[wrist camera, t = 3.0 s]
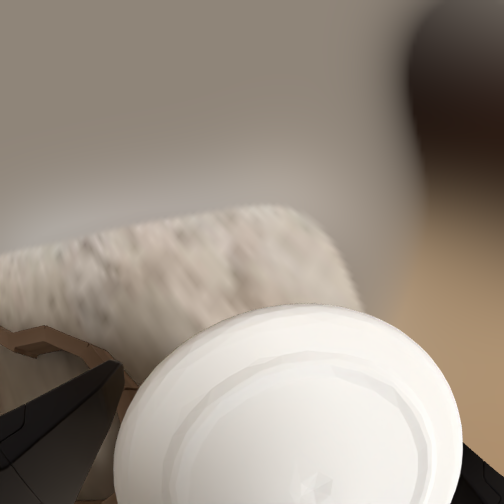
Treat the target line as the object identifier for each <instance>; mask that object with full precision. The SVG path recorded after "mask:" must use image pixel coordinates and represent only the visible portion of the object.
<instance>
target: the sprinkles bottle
mask: <svg viewBox="0 0 504 504" xmlns="http://www.w3.org/2000/svg"><path fill="white" fill-rule="evenodd" d="M462 453H463V444H462V426H461V421H460V416H459V412H458V408H457V405H456V401H455V399H454V396H453V394H452V391H451V389H450V386H449V384H448V382H447V381H446V379H445V377H444V375H443V374H442V372H441V371H440V369H439V368H438V366H437V365H436V364H435V362H434V361H433V360H432V359H431V357H430V356H429V355H428V354H427V353H426V352H425V351H424V350H423V349H422V348H421V347H420V346H419V345H418V344H417V343H416V342H414V341H413V340H412V339H411V338H410V337H408V336H407V335H406V334H404V333H403V332H402V331H400V330H399V329H397V328H395V327H394V326H392V325H390V324H388V323H386V322H384V321H382V320H380V319H378V318H376V317H373V316H371V315H368V314H365V313H362V312H358V311H355V310H351V309H348V308H344V307H341V306H334V305H324V304H315V303H297V304H284V305H277V306H270V307H265V308H260V309H255V310H251V311H248V312H245V313H242V314H239V315H236V316H233V317H231V318H228V319H225V320H223V321H221V322H219V323H217V324H215V325H213V326H211V327H209V328H207V329H205V330H203V331H201V332H199V333H197V334H196V335H194V336H193V337H191V338H190V339H188V340H187V341H185V342H184V343H183V344H181V345H180V346H179V347H178V348H176V349H175V350H174V351H173V352H172V353H171V354H169V355H168V356H167V357H166V358H165V359H164V360H163V361H162V362H161V363H160V364H158V365H157V366H156V367H155V369H154V370H153V371H152V372H151V374H150V375H149V376H148V377H147V379H146V380H145V381H144V382H143V384H142V385H141V386H140V387H139V389H138V391H137V393H136V395H135V396H134V398H133V400H132V402H131V404H130V405H129V407H128V409H127V411H126V414H125V416H124V418H123V421H122V423H121V427H120V430H119V433H118V437H117V440H116V446H115V452H114V467H113V473H114V488H115V493H116V498H117V502H118V504H450V503H451V501H452V498H453V495H454V493H455V490H456V487H457V483H458V480H459V476H460V471H461V465H462Z"/></svg>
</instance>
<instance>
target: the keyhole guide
mask: <svg viewBox="0 0 504 504" xmlns="http://www.w3.org/2000/svg"><path fill="white" fill-rule="evenodd" d="M0 344H1V345H3V346H4V347H6V348H8V349H10V350H11V351H13V352H16V353H19V354H22V355H26V356H29V357H32V358H36V359H37V357H38V355H40V354H45V353H50V352H54V351H59V350H65V351H67V352H70V353H72V354H75V355H77V356H79V357H81V358H82V359H83V360H84V362H85V363H86V364H87V365H88V367H89V368H90V369H92V368H94V367H96V366H98V365H100V364H102V363H104V362H105V361H107V360H110V359H112V360H115V359H114V358H113V357H112V356H111V355H110V354H109V352H107V351H106V350H104V349H101V348H99V347H97V346H94V345H92V344H90V343H87V342H85V341H82V340H80V339H77V338H75V337H72V336H70V335H67V334H65V333H63V332H60V331H58V330H55V329H53V328H51V327H48V326H45V325H43V326H39V327H35V328H31V329H27V330H22V331H18V332H14V333H13V332H11V331H9V330H7V329H5V328H3V327H2V326H0ZM124 377H125V386H124V390H123V392H122V395H121V398H120V401H119V403H118V406H117V409H116V410H117V414H118V417H119V421H120V424H121V423H122V421H123V418H124V416H125V414H126V411H127V409H128V407H129V405H130V404H131V402H132V400H133V398H134V396H135V395H136V393H137V391H138V389H139V386H138V385H137V384H136V383H135V382H134V381H133V380H132V379H131V378H130V377H129V375H128V374H127V373H126V372H125V371H124ZM74 504H118V502H117V498H116V493H115V492H114V493H113V494H112V495H111V496H110V497H108V498H107V499H106V500H86V501H75V502H74Z"/></svg>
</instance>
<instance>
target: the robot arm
mask: <svg viewBox="0 0 504 504" xmlns="http://www.w3.org/2000/svg"><path fill="white" fill-rule="evenodd" d="M124 386H125V377H124V368H123V364H122V363H121V362H119V361H115V360H112V359H110V360H107V361H105V362H104V363H102V364H100V365H98V366H96V367H94V368H92V369H91V370H89V371H87V372H85V373H83V374H81V375H79V376H77V377H76V378H74V379H72V380H70V381H68V382H66V383H64V384H62V385H60V386H59V387H57V388H55V389H53V390H51V391H49V392H47V393H45V394H43V395H41V396H39V397H37V398H36V399H34V400H32V401H30V402H28V403H26V405H25V404H24V405H22V406H20V407H18V408H16V409H14V410H12V411H10V412H7V413H5V414H3V415H1V416H0V504H74V502H75V500H76V498H77V496H78V494H79V491H80V489H81V487H82V485H83V483H84V481H85V478H86V476H87V474H88V472H89V470H90V468H91V466H92V464H93V461H94V459H95V457H96V455H97V453H98V451H99V449H100V447H101V445H102V443H103V441H104V439H105V437H106V435H107V433H108V430H109V428H110V426H111V423H112V421H113V418H114V415H115V412H116V409H117V406H118V403H119V401H120V398H121V395H122V392H123V390H124ZM462 444H463V453H462V465H461V471H460V476H459V480H458V483H457V487H456V490H455V493H454V495H453V498H452V501H451V503H450V504H504V477H503V476H502V475H500V474H499V473H498V472H496V471H495V470H494V469H493V468H492V467H490V466H489V465H488V464H487V463H486V462H485V461H483V460H482V459H481V458H480V457H479V456H478V455H477V454H476V453H474V452H473V451H472V450H471V449H470V448H469V447H468V446H466V445H465V444H464V443H463V442H462Z"/></svg>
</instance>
